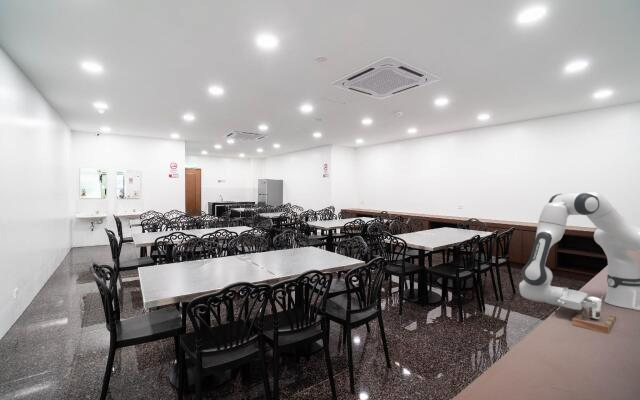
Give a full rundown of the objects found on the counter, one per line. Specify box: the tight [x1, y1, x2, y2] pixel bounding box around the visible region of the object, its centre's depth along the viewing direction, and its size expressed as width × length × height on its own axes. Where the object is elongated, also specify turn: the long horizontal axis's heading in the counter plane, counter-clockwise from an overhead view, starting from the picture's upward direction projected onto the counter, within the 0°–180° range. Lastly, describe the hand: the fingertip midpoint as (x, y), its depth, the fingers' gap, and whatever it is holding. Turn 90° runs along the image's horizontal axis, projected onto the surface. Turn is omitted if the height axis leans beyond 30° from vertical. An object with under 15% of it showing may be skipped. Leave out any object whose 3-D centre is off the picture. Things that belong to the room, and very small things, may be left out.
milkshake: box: [588, 295, 604, 320], centre depth 134 cm, size 5×5×10 cm
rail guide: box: [571, 307, 617, 334], centre depth 132 cm, size 24×11×2 cm, turn 130°
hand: (598, 304), depth 134 cm, fingers closed on milkshake, 4 cm apart
